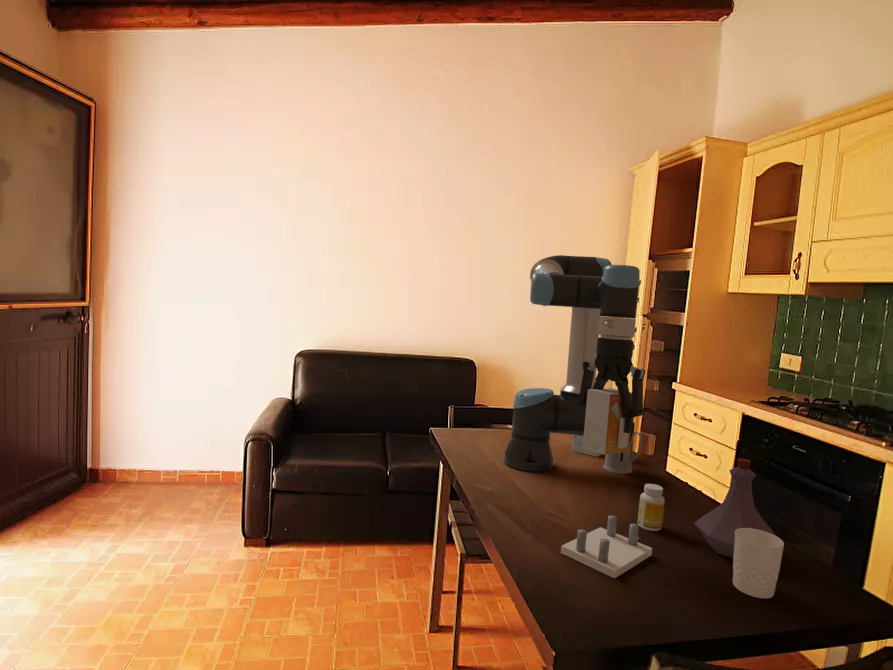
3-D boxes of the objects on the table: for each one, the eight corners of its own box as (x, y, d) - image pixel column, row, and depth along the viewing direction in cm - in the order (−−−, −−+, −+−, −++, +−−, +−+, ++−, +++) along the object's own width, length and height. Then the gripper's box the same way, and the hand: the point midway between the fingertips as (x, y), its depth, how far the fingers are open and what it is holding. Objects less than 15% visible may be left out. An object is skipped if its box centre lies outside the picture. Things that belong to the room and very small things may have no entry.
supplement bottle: (632, 523, 126) (636, 483, 125) (648, 520, 128) (652, 481, 127) (650, 533, 121) (654, 492, 120) (667, 529, 123) (671, 489, 123)
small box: (605, 455, 111) (610, 394, 111) (581, 448, 117) (586, 388, 116) (629, 452, 116) (635, 392, 115) (606, 444, 121) (611, 387, 120)
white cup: (720, 577, 103) (726, 527, 102) (758, 577, 104) (764, 528, 103) (746, 600, 95) (752, 546, 95) (787, 601, 96) (794, 547, 95)
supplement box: (570, 451, 183) (575, 402, 181) (580, 445, 190) (584, 399, 189) (598, 457, 177) (603, 407, 176) (607, 451, 185) (611, 403, 184)
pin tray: (560, 552, 109) (563, 526, 108) (599, 533, 119) (602, 509, 118) (614, 578, 100) (617, 550, 100) (651, 555, 110) (654, 529, 110)
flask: (741, 575, 104) (753, 476, 103) (675, 538, 119) (684, 450, 118) (796, 563, 111) (808, 470, 109) (727, 529, 126) (736, 446, 124)
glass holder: (620, 463, 172) (625, 418, 171) (650, 479, 159) (655, 429, 157) (597, 464, 169) (601, 418, 168) (625, 480, 156) (630, 430, 155)
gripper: (566, 333, 119) (558, 434, 121) (651, 342, 105) (641, 457, 106) (585, 333, 124) (576, 431, 126) (668, 342, 110) (658, 452, 112)
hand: (606, 442), depth 116 cm, fingers closed on small box, 7 cm apart
